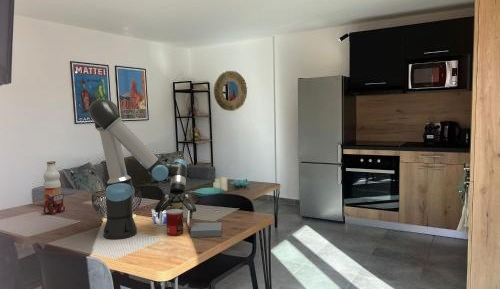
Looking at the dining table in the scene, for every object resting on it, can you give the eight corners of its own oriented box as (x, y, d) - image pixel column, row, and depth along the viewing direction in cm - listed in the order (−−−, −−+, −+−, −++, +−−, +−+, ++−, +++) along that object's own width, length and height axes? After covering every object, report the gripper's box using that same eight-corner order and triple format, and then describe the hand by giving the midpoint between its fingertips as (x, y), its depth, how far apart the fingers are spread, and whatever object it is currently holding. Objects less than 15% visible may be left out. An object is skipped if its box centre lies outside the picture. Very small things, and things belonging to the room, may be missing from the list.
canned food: (179, 236, 170) (179, 213, 169) (163, 235, 172) (163, 212, 171) (186, 231, 178) (185, 209, 177) (170, 230, 179) (170, 208, 178)
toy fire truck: (40, 214, 210) (39, 197, 210) (59, 209, 222) (58, 192, 221) (48, 216, 207) (47, 198, 207) (67, 210, 219) (66, 193, 218)
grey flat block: (190, 237, 169) (190, 230, 169) (193, 229, 181) (193, 223, 181) (220, 236, 170) (220, 230, 169) (221, 228, 182) (221, 222, 181)
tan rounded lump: (162, 210, 216) (161, 193, 216) (174, 206, 227) (173, 189, 227) (176, 212, 213) (175, 194, 212) (187, 207, 224) (187, 190, 223)
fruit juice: (63, 205, 231) (60, 161, 229) (46, 208, 225) (43, 163, 223) (60, 203, 239) (58, 160, 236) (43, 205, 233) (41, 161, 231)
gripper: (202, 190, 189) (201, 227, 175) (154, 191, 188) (149, 228, 174) (201, 181, 183) (199, 219, 170) (152, 182, 182) (146, 221, 168)
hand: (174, 224), depth 172 cm, fingers open, 12 cm apart
